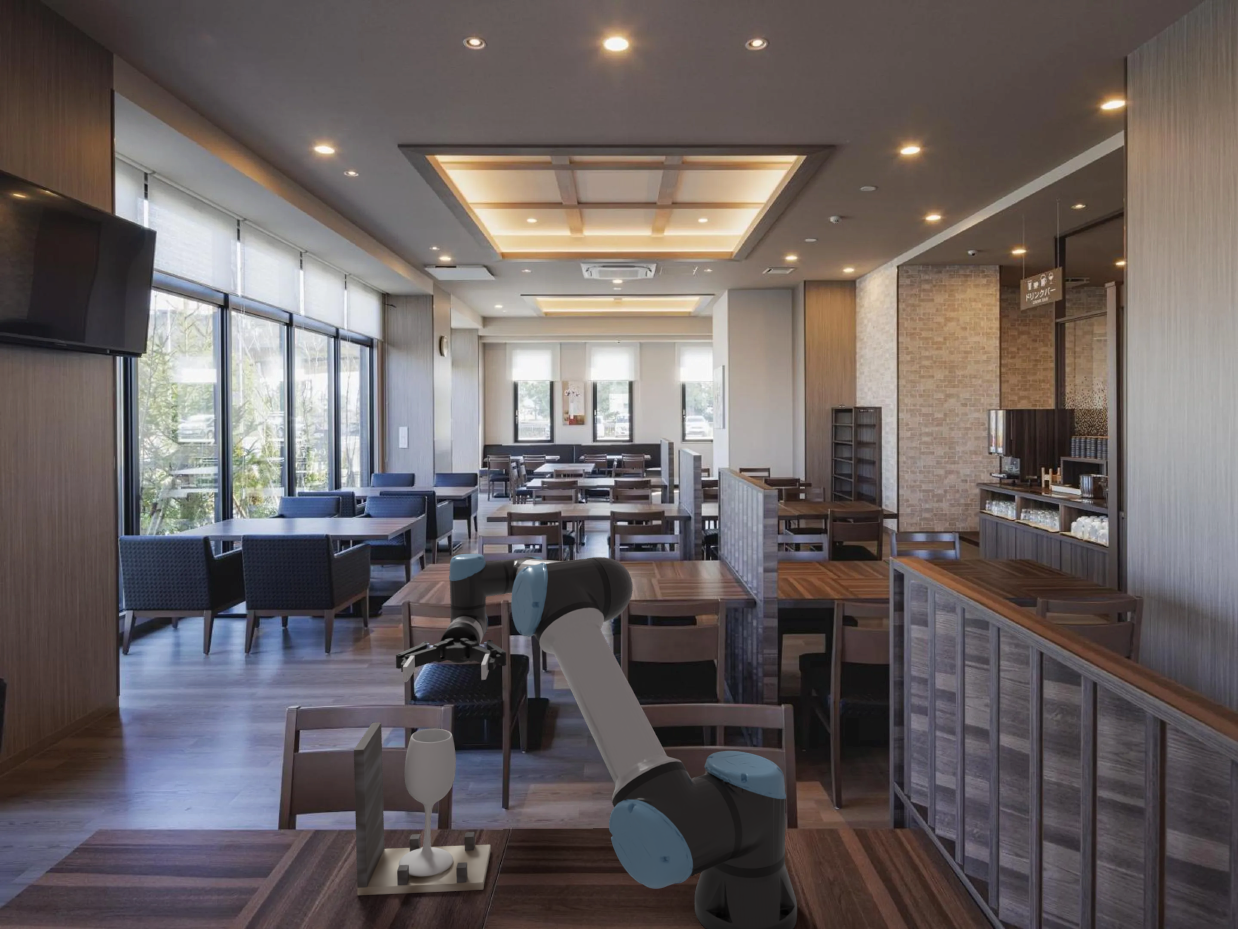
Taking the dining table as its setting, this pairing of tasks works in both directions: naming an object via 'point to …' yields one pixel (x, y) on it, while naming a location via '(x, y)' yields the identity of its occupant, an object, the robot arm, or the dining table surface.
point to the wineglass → (429, 792)
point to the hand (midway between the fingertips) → (444, 673)
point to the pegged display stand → (382, 865)
